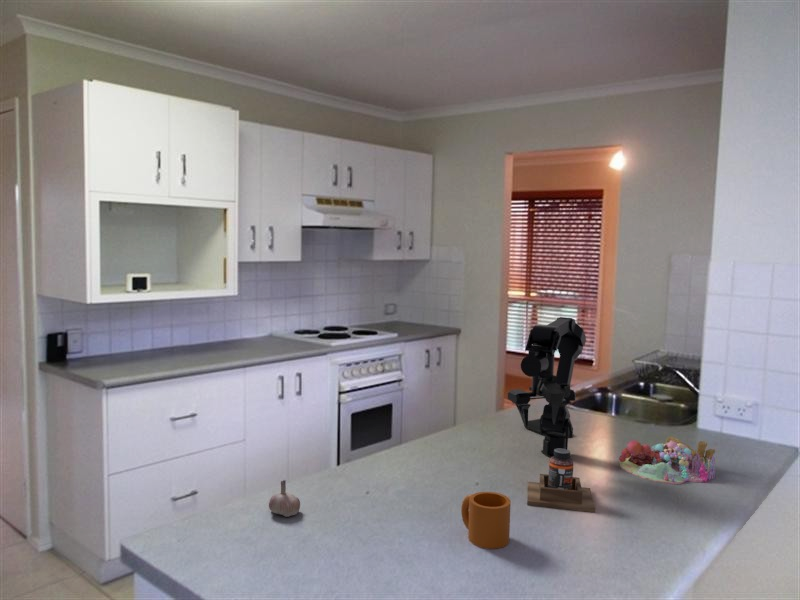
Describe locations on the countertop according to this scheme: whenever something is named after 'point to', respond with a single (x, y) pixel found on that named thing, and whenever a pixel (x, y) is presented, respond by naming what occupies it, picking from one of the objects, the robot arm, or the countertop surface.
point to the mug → (487, 519)
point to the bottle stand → (560, 495)
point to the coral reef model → (669, 461)
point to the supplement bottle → (560, 470)
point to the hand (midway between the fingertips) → (540, 425)
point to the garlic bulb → (284, 502)
